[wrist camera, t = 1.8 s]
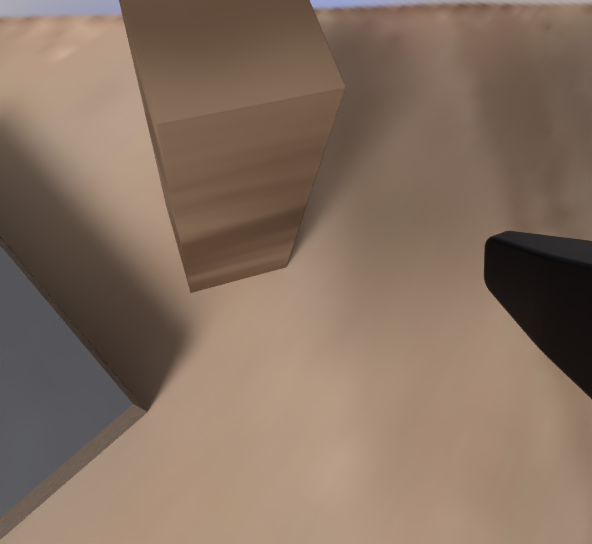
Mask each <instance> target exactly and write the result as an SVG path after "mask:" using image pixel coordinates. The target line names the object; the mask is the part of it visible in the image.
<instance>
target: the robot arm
mask: <svg viewBox="0 0 592 544" xmlns="http://www.w3.org/2000/svg"><path fill="white" fill-rule="evenodd" d="M484 280H485V284H486V286H487V288H488V289H489V291H490V292H491V293H492V294H493V296H494V297H495V298H496V299H497V300H498V301H499V303H500V304H501V305H502V306H503V307H504V308H505V310H506V311H507V312H508V313H509V314H510V315H511V317H512V318H513V319H514V320H515V321H516V322H517V324H518V325H519V326H520V327H521V328H522V329H523V331H524V332H525V333H526V334H527V335H528V336H529V338H530V339H531V340H532V341H533V342H534V343H535V344H536V345H537V347H538V348H539V349H540V350H541V351H542V352H543V353H544V354H545V355H546V356H547V357H548V358H549V359H550V360H551V361H552V362H553V363H554V364H555V365H556V366H557V367H559V368H560V369H561V370H562V371H563V372H564V373H565V374H566V375H567V376H568V377H569V378H570V379H571V380H572V381H573V382H574V383H575V384H576V385H577V386H578V387H579V388H581V389H582V390H583V391H584V392H585V393H586V394H587V395H588V396H589V397H590V398H591V399H592V241H588V240H580V239H572V238H564V237H556V236H548V235H540V234H531V233H523V232H515V231H505V232H502V233H500V234H497V235H494V236H491V237H489V238H488V239H487V241H486V243H485V252H484Z"/></svg>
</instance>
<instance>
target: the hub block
mask: <svg viewBox="0 0 592 544" xmlns="http://www.w3.org/2000/svg"><path fill="white" fill-rule="evenodd" d="M146 413H147V411H146V410H145V409H144V408H143V407H142V405H141V404H140V403H139V402H138V401H137V399H136V398H135V397H134V396H133V395H132V393H131V392H130V391H129V390H128V389H127V388H126V386H125V385H124V384H123V383H122V382H121V380H120V379H119V378H118V377H117V376H116V374H115V373H114V372H113V371H112V370H111V369H110V367H109V366H108V365H107V364H106V363H105V361H104V360H103V359H102V358H101V357H100V355H99V354H98V353H97V352H96V351H95V350H94V348H93V347H92V346H91V345H90V344H89V342H88V341H87V340H86V339H85V338H84V336H83V335H82V334H81V333H80V332H79V330H78V329H77V328H76V327H75V326H74V325H73V323H72V322H71V321H70V320H69V319H68V317H67V316H66V315H65V314H64V313H63V311H62V310H61V309H60V308H59V307H58V306H57V304H56V303H55V302H54V301H53V300H52V298H51V297H50V296H49V295H48V294H47V292H46V291H45V290H44V289H43V288H42V286H41V285H40V284H39V283H38V282H37V281H36V279H35V278H34V277H33V276H32V275H31V273H30V272H29V271H28V270H27V269H26V267H25V266H24V265H23V264H22V263H21V262H20V260H19V259H18V258H17V257H16V256H15V254H14V253H13V252H12V251H11V250H10V248H9V247H8V246H7V245H6V244H5V242H4V241H3V240H2V239H1V238H0V539H1V538H3V537H4V536H5V535H6V534H7V533H8V532H9V531H11V530H12V529H13V528H14V527H15V526H16V525H18V524H19V523H20V522H21V521H22V520H23V519H25V518H26V517H27V516H28V515H29V514H30V513H31V512H33V511H34V510H35V509H36V508H37V507H38V506H40V505H41V504H42V503H43V502H44V501H45V500H46V499H48V498H49V497H50V496H51V495H52V494H53V493H55V492H56V491H57V490H58V489H59V488H60V487H61V486H63V485H64V484H65V483H66V482H67V481H68V480H70V479H71V478H72V477H73V476H74V475H75V474H76V473H78V472H79V471H80V470H81V469H82V468H83V467H85V466H86V465H87V464H88V463H89V462H90V461H91V460H93V459H94V458H95V457H96V456H97V455H98V454H100V453H101V452H102V451H103V450H104V449H105V448H107V447H108V446H109V445H110V444H111V443H112V442H113V441H115V440H116V439H117V438H118V437H119V436H120V435H122V434H123V433H124V432H125V431H126V430H127V429H128V428H130V427H131V426H132V425H133V424H134V423H135V422H137V421H138V420H139V419H140V418H141V417H142V416H143V415H145V414H146Z"/></svg>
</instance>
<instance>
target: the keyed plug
mask: <svg viewBox="0 0 592 544" xmlns="http://www.w3.org/2000/svg"><path fill="white" fill-rule="evenodd" d="M119 2H120V6H121V11H122V15H123V20H124V24H125V28H126V33H127V37H128V41H129V46H130V50H131V54H132V59H133V63H134V67H135V72H136V76H137V80H138V85H139V89H140V93H141V98H142V102H143V107H144V111H145V115H146V120H147V124H148V128H149V133H150V137H151V141H152V146H153V150H154V154H155V159H156V163H157V167H158V172H159V176H160V180H161V185H162V189H163V193H164V198H165V202H166V206H167V210H168V213H169V217H170V220H171V224H172V228H173V231H174V235H175V238H176V242H177V245H178V249H179V253H180V256H181V260H182V263H183V267H184V270H185V274H186V278H187V281H188V285H189V288H190V292H191V293H192V292H196V291H199V290H203V289H207V288H210V287H214V286H218V285H222V284H225V283H229V282H233V281H236V280H240V279H244V278H248V277H251V276H255V275H259V274H262V273H266V272H270V271H273V270H277V269H281V268H285V267H286V266H287V263H288V260H289V257H290V254H291V251H292V248H293V245H294V242H295V239H296V236H297V233H298V230H299V227H300V224H301V221H302V218H303V215H304V212H305V209H306V206H307V203H308V200H309V197H310V193H311V190H312V187H313V184H314V181H315V178H316V175H317V172H318V169H319V166H320V163H321V160H322V157H323V154H324V151H325V148H326V145H327V142H328V139H329V136H330V133H331V130H332V127H333V124H334V121H335V118H336V115H337V112H338V109H339V106H340V103H341V99H342V96H343V93H344V90H345V85H344V82H343V80H342V78H341V75H340V73H339V70H338V68H337V65H336V63H335V61H334V58H333V56H332V53H331V51H330V49H329V46H328V44H327V41H326V39H325V37H324V34H323V32H322V29H321V27H320V24H319V22H318V20H317V17H316V15H315V12H314V10H313V8H312V5H311V3H310V0H119Z"/></svg>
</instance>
